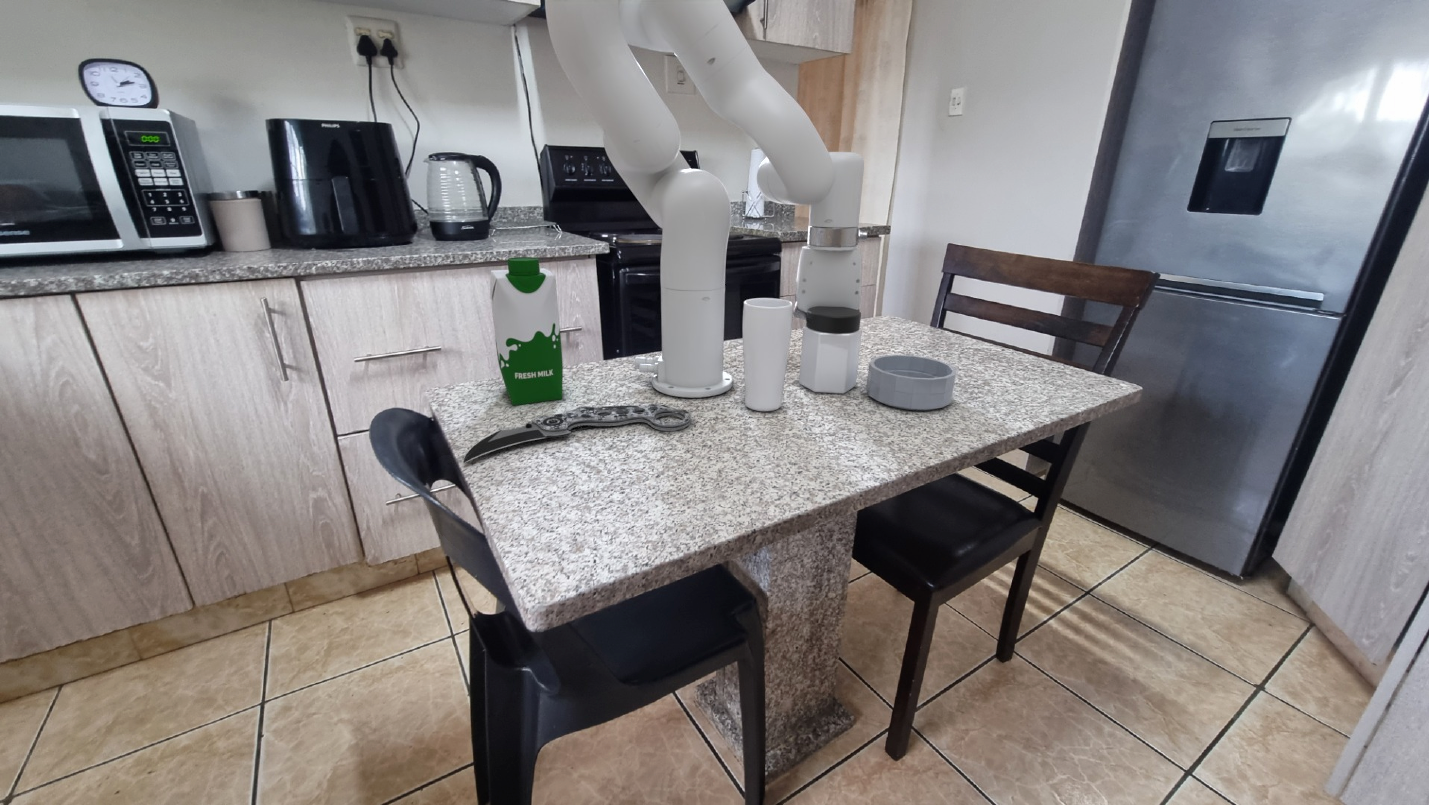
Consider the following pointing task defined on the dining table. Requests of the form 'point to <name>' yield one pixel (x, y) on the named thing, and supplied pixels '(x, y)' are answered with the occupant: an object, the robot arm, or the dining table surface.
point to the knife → (580, 424)
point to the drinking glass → (766, 350)
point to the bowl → (911, 382)
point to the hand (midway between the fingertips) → (823, 352)
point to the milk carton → (527, 331)
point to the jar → (830, 349)
